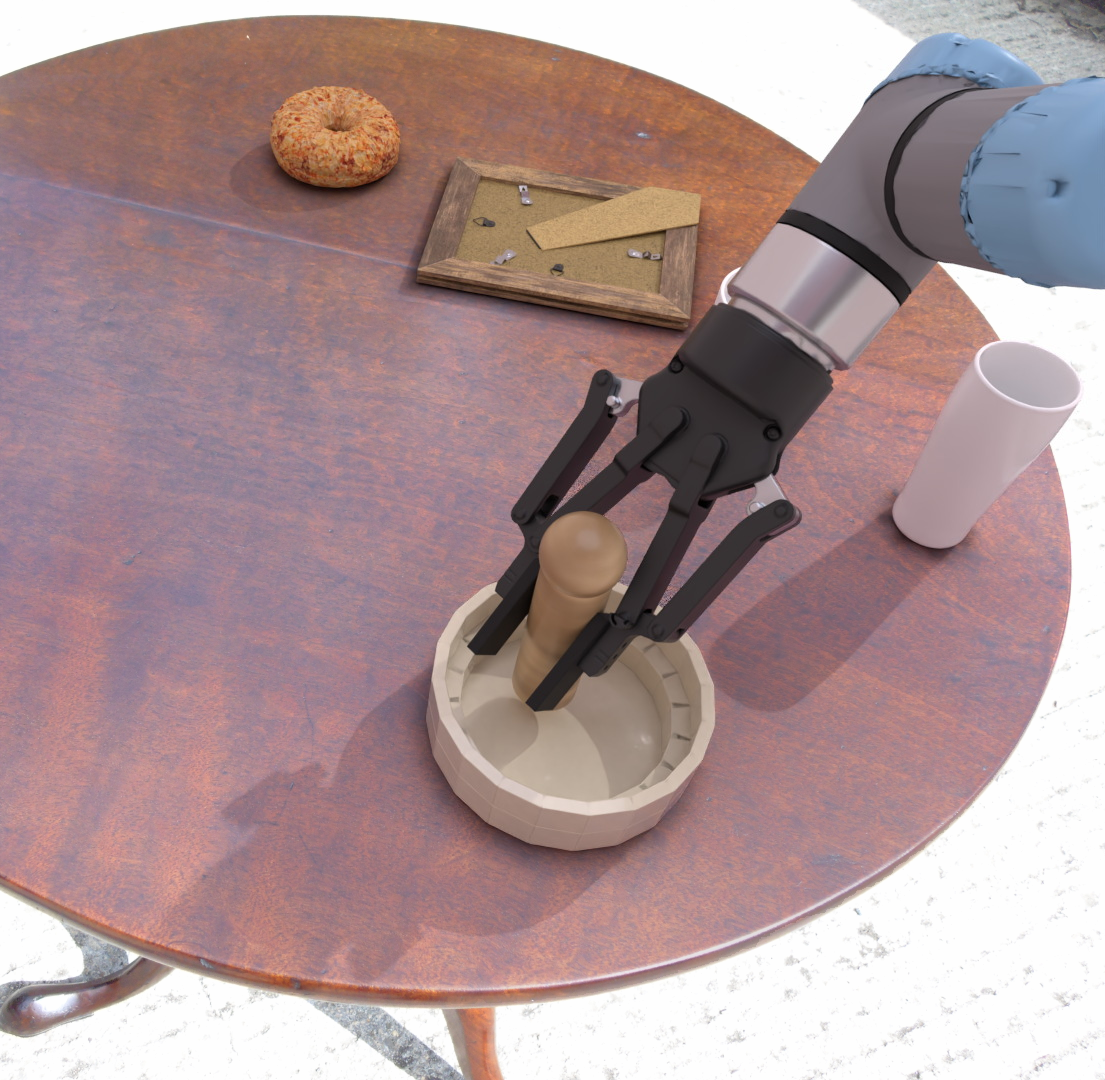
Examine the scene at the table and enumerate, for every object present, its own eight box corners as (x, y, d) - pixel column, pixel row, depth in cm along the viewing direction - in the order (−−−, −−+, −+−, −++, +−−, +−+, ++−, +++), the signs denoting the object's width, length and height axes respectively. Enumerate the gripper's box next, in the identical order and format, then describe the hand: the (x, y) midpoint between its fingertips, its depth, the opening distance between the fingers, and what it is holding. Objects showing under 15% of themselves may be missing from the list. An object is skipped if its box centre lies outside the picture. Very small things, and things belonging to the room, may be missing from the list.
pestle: (591, 670, 67) (648, 514, 55) (564, 727, 64) (618, 576, 52) (524, 640, 68) (565, 480, 56) (495, 695, 66) (532, 540, 54)
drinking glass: (885, 478, 82) (977, 326, 70) (976, 507, 81) (1086, 356, 69) (873, 541, 78) (969, 391, 66) (969, 572, 77) (1085, 424, 65)
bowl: (721, 681, 70) (747, 635, 66) (640, 903, 61) (664, 866, 56) (490, 582, 74) (500, 532, 70) (380, 775, 65) (384, 732, 61)
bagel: (253, 184, 103) (250, 136, 99) (292, 112, 111) (290, 66, 107) (383, 206, 101) (385, 159, 98) (413, 132, 110) (416, 85, 106)
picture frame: (696, 210, 103) (455, 170, 106) (701, 194, 102) (457, 153, 104) (685, 333, 92) (416, 284, 94) (691, 316, 90) (417, 267, 93)
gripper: (929, 444, 55) (642, 778, 60) (672, 277, 62) (439, 587, 68) (917, 415, 48) (597, 792, 54) (632, 233, 56) (379, 580, 62)
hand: (510, 677), depth 61 cm, fingers closed on pestle, 4 cm apart
